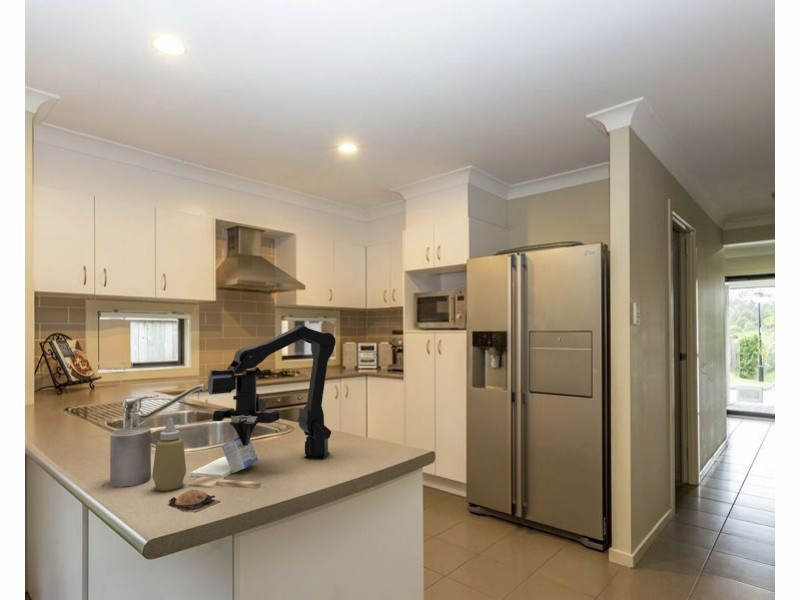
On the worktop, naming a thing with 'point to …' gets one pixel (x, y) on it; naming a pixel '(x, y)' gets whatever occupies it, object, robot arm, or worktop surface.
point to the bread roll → (193, 501)
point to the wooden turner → (222, 483)
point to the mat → (214, 469)
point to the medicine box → (239, 454)
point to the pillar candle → (130, 456)
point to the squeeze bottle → (169, 459)
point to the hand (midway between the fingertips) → (245, 445)
